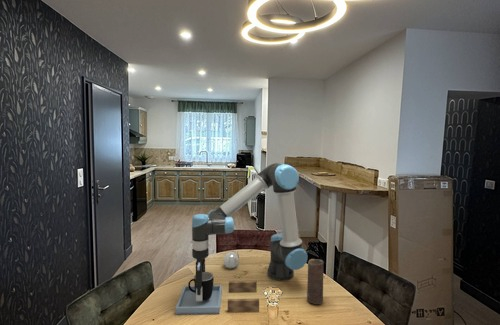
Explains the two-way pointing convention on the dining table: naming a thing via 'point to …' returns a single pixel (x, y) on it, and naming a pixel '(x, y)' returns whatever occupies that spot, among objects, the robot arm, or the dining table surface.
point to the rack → (243, 304)
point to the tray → (199, 302)
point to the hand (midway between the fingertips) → (200, 294)
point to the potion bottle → (231, 259)
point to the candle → (315, 281)
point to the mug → (205, 285)
